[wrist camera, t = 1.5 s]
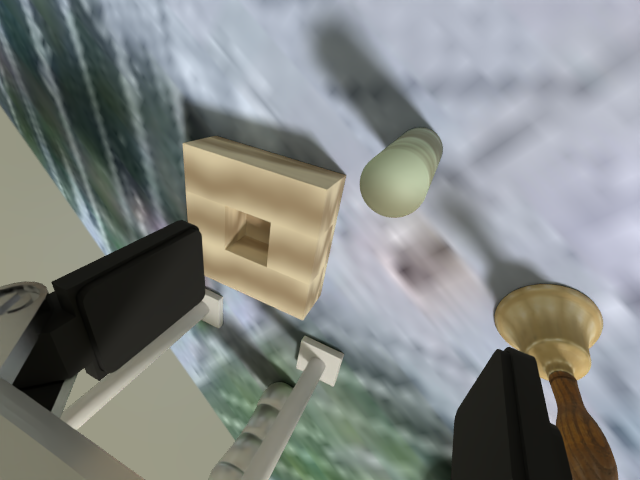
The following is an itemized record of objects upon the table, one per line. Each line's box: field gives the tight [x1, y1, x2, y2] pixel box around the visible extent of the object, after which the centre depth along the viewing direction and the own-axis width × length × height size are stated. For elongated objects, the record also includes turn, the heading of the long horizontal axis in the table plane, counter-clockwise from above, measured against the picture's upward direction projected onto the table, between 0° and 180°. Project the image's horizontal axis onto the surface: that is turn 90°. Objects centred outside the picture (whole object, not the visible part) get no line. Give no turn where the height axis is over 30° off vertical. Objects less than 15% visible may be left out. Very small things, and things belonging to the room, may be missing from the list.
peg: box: [360, 127, 443, 218], centre depth 23 cm, size 4×4×11 cm
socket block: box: [183, 136, 346, 320], centre depth 35 cm, size 16×16×5 cm
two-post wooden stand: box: [60, 289, 344, 480], centre depth 31 cm, size 14×26×36 cm, turn 80°
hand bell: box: [495, 284, 618, 480], centre depth 23 cm, size 8×8×16 cm
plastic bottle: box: [208, 382, 293, 480], centre depth 43 cm, size 6×7×20 cm
